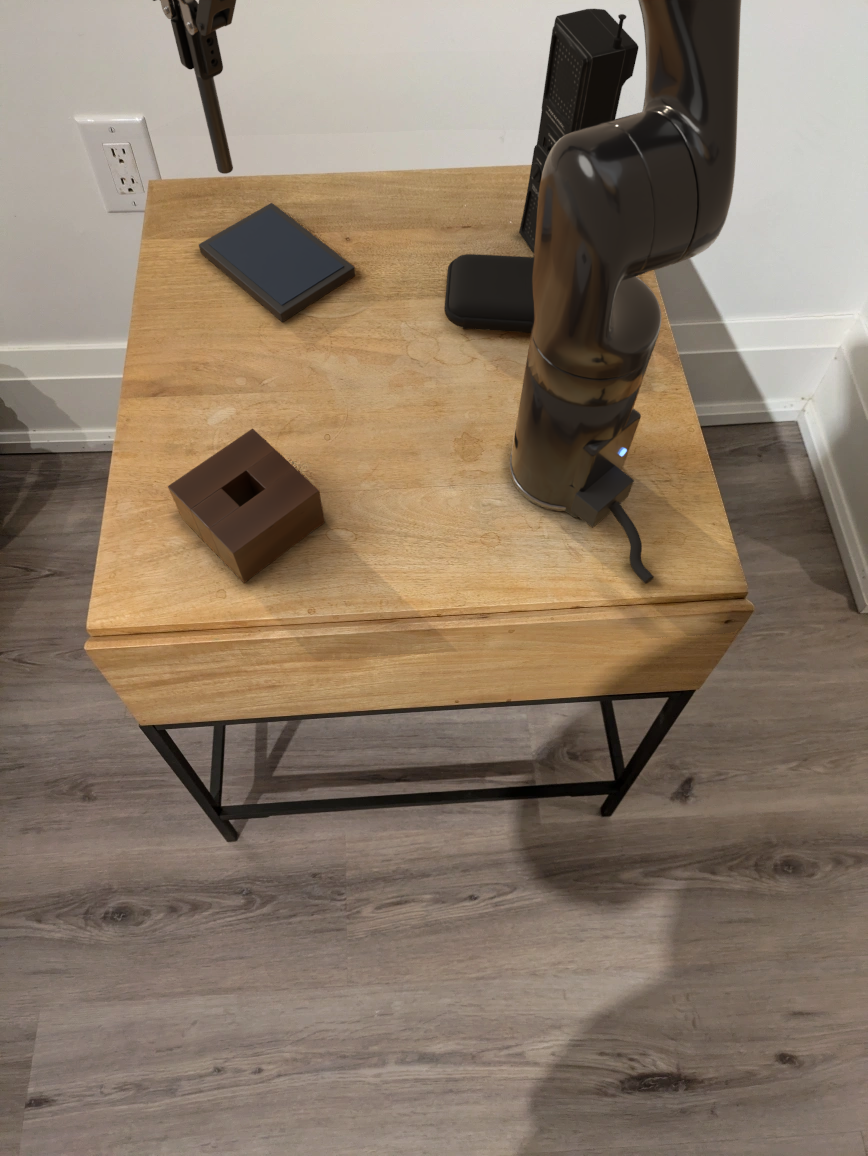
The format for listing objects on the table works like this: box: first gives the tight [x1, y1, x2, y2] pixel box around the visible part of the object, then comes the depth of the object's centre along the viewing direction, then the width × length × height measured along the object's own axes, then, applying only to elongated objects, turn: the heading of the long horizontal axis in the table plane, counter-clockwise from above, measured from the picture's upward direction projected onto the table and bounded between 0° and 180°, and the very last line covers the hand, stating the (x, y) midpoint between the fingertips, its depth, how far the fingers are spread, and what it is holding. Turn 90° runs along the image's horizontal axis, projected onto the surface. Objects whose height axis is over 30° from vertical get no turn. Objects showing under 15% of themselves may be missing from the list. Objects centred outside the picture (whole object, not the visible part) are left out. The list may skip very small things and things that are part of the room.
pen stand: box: [167, 428, 326, 584], centre depth 73 cm, size 9×9×5 cm
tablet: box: [198, 202, 356, 323], centre depth 90 cm, size 14×10×1 cm
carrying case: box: [443, 253, 534, 334], centre depth 87 cm, size 11×3×15 cm
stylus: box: [179, 0, 234, 175], centre depth 71 cm, size 2×2×14 cm
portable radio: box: [518, 8, 639, 255], centre depth 82 cm, size 8×6×25 cm
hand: (203, 69), depth 69 cm, fingers closed on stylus, 1 cm apart
